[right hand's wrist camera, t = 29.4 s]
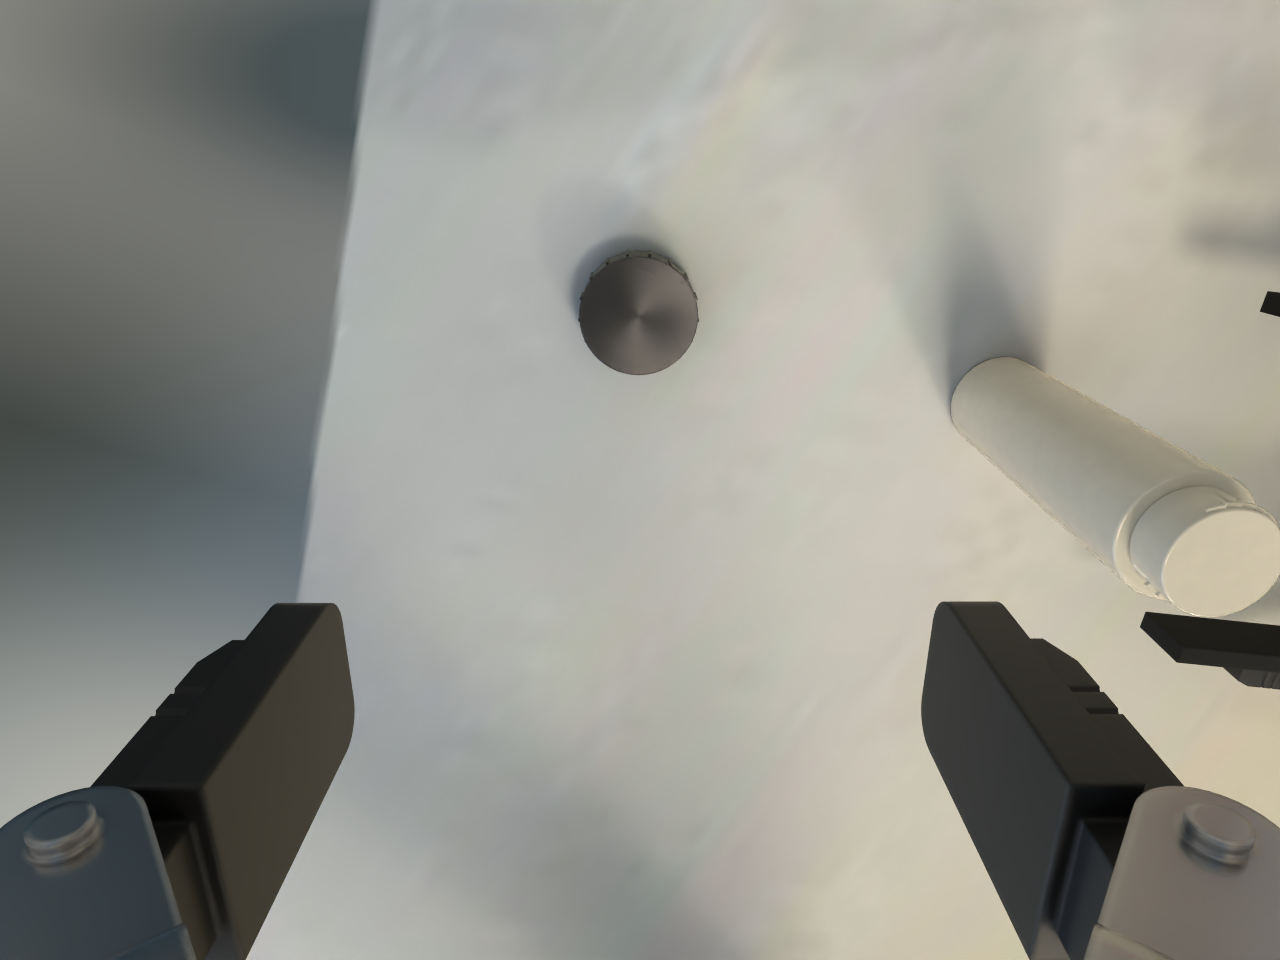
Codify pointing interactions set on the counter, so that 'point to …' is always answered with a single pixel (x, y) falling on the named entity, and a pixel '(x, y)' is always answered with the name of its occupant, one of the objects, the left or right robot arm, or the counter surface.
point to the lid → (638, 313)
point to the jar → (1122, 489)
